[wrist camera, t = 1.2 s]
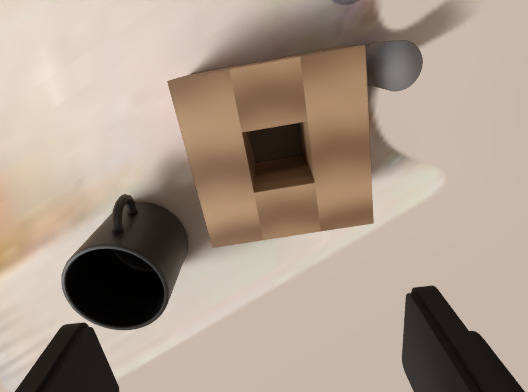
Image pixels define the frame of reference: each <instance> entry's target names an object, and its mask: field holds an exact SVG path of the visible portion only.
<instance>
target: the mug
mask: <svg viewBox="0 0 528 392" xmlns="http://www.w3.org/2000/svg"><path fill="white" fill-rule="evenodd" d="M187 249H188V239H187V234H186V232H185V229H184V227H183V225H182V224H181V222H180V221H179V220H178V219H177V218H176V217H175V216H174V215H173V214H172V213H171V212H169V211H168V210H166V209H164V208H162V207H160V206H157V205H154V204H150V203H135V202H134V199H133V198H132V196H130V195H126V194H124V195H122V196H120V197H119V199H118V200H117V201H116V203H115V206H114V209H113V213H112V214H111V215H110V216H109V217H108V218H107V219H106V220H105V221H104V222H103V223H102V225H101V226H100V227H99V228H98V229H97V230H96V231H95V232H94V233H93V234H92V235H91V236H90V237H89V238H88V240H87V241H86V242H85V243H84V244H83V245H82V246H81V247H80V248H79V249H78V250H77V251H76V252H75V253H74V255H73V256H72V257H71V258H70V259H69V260H68V261H67V263H66V265H65V267H64V269H63V273H62V289H63V292H64V295H65V297H66V299H67V301H68V302H69V304H70V305H71V306H72V308H73V309H74V310H75V311H76V312H77V313H78V314H80V315H81V316H82V317H84V318H85V319H87V320H88V321H90V322H92V323H94V324H96V325H99V326H102V327H105V328H109V329H115V330H132V329H138V328H141V327H144V326H146V325H149V324H151V323H152V322H154V321H155V320H156V319H157V318H158V317H159V316H160V315H161V314H162V313H163V312H164V310H165V308H166V306H167V304H168V301H169V299H170V296H171V293H172V291H173V288H174V285H175V283H176V280H177V277H178V275H179V272H180V269H181V267H182V264H183V261H184V259H185V256H186V253H187Z"/></svg>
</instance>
